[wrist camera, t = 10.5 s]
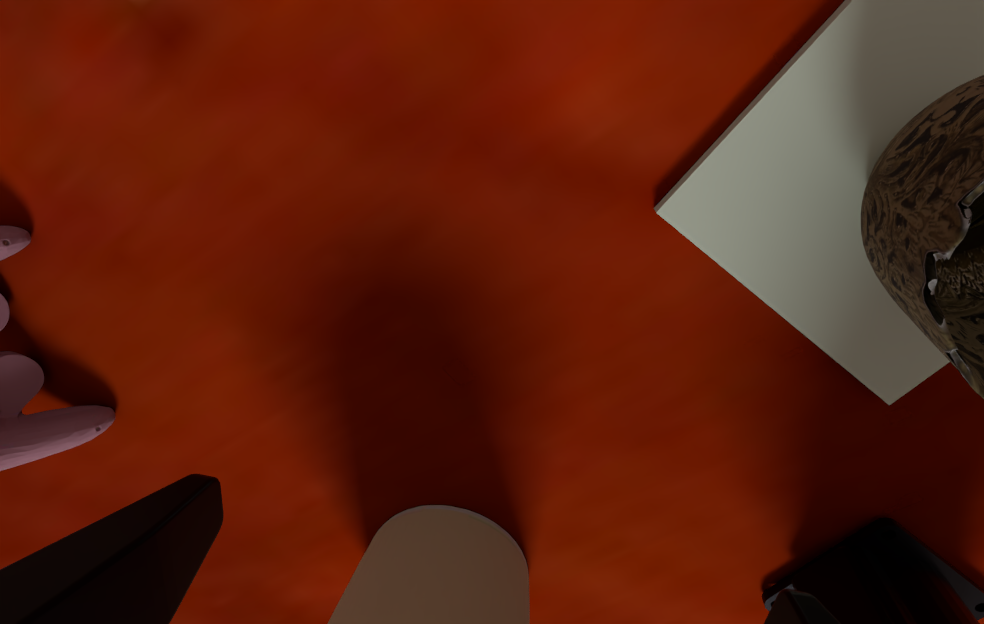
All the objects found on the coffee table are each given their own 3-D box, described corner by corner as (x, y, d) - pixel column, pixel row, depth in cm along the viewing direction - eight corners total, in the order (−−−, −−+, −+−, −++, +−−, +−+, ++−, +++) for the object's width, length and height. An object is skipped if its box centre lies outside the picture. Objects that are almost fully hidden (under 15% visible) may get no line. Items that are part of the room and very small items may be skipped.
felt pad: (1216, 149, 16) (1238, 152, 15) (880, 396, 20) (889, 405, 20) (958, -123, 14) (973, -131, 14) (653, 208, 19) (656, 212, 18)
